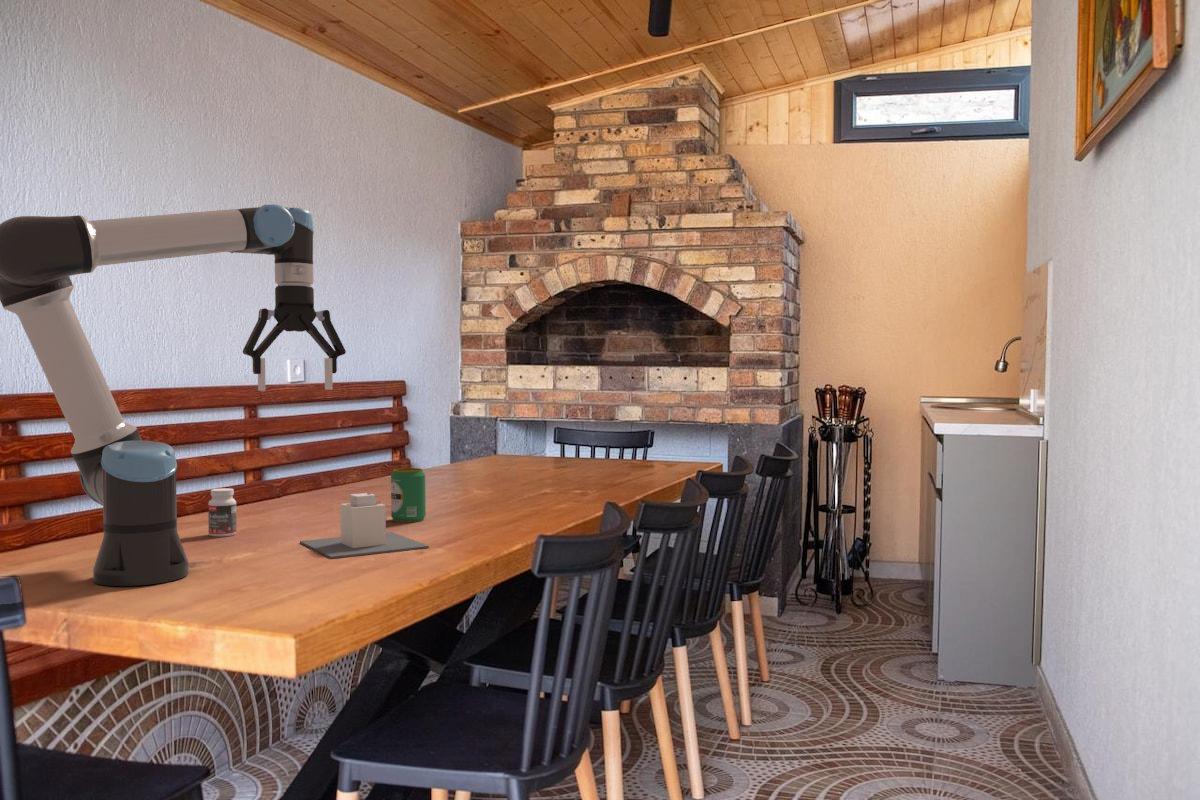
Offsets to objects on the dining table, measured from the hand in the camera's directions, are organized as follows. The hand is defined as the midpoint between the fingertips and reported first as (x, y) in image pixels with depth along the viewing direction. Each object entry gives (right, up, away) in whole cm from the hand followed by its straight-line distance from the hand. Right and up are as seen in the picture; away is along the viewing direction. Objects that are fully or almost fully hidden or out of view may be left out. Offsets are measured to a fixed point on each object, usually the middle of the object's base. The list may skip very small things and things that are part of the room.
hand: (295, 390), depth 206 cm
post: (+14, -32, +1) cm, 34 cm away
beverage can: (+17, -31, +33) cm, 48 cm away
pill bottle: (-20, -32, +14) cm, 40 cm away
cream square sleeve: (+14, -31, 0) cm, 34 cm away
